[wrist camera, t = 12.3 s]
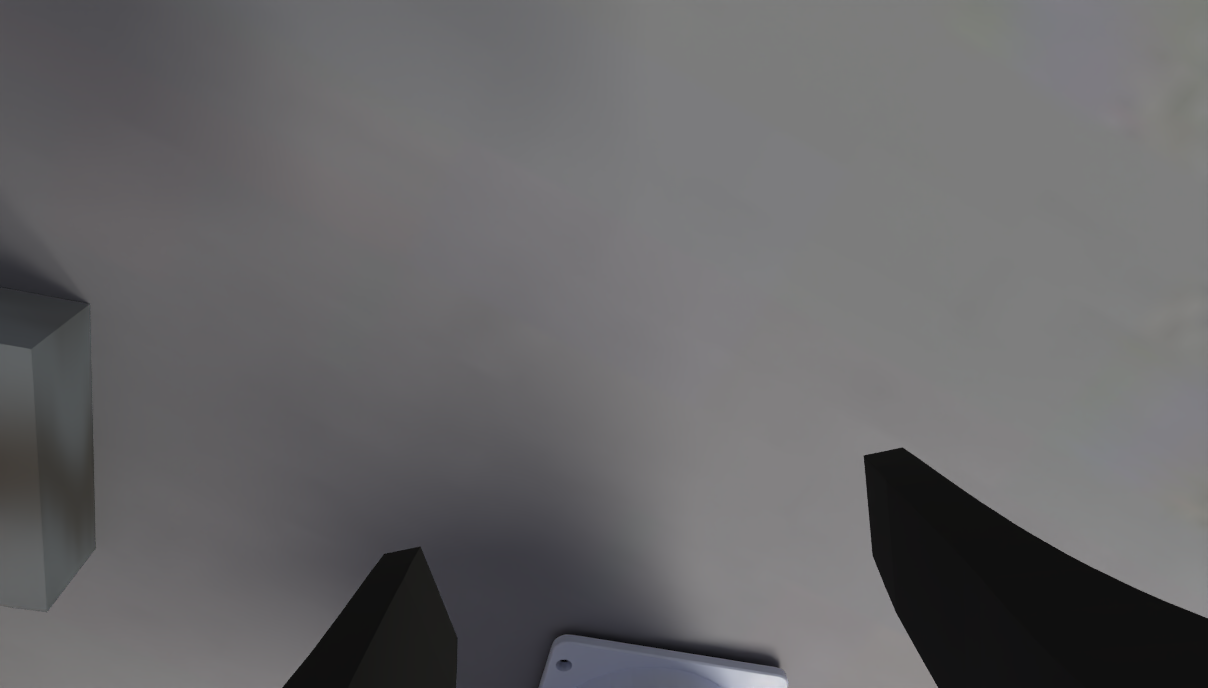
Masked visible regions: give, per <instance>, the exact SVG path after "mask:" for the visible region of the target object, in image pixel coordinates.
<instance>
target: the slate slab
mask: <svg viewBox="0 0 1208 688" xmlns="http://www.w3.org/2000/svg"><path fill="white" fill-rule="evenodd" d="M95 549H96V542H95V500H94V458H93V415H92V373H91V331H90V304H87V303H82V302H77V301H72V300H66V299H61V298H56V297H51V296H45V295H40V294H35V293H29V292H24V291H19V290H14V289H8V288H3V287H0V606H4V607H12V608H19V609H27V610H34V611H42V612H47V611H48V610H49V609H50V607H51V606H52V605H53V604H54V602H55V601H56V600H57V598H58V597H59V596H60V594H61V593H62V592H63V590H64V589H65V588H66V587H67V585H68V584H69V583H70V581H71V580H72V579H73V577H74V576H75V575H76V573H77V572H78V571H79V569H80V568H81V567H82V566H83V564H84V563H85V562H86V560H87V559H88V558H89V556H90V555H91V554H92V552H93V551H94V550H95Z"/></svg>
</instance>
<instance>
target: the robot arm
mask: <svg viewBox="0 0 1208 688" xmlns="http://www.w3.org/2000/svg"><path fill="white" fill-rule="evenodd" d="M864 463H865V475H866V486H867V497H868V508H869V519H870V530H871V542H872V553H873V557H874V560H875V562H876V565H877V567H878V570H879V572H880V575H881V577H882V580H883V582H884V585H885V587H886V590H887V592H888V594H889V597H890V599H891V601H892V604H893V606H894V608H895V611H896V613H897V615H898V617H899V619H900V620H901V622H902V624H903V626H904V628H905V629H906V631H907V633H908V635H909V637H910V638H911V640H912V642H913V644H914V646H915V647H916V649H917V651H918V653H919V654H920V656H921V658H922V660H923V662H924V663H925V665H926V667H927V669H928V670H929V672H930V674H931V676H932V677H933V679H934V681H935V683H936V684H937V686H938V688H1208V618H1205V617H1203V616H1200V615H1198V614H1195V613H1193V612H1190V611H1188V610H1185V609H1183V608H1180V607H1178V606H1175V605H1173V604H1170V603H1168V602H1165V601H1163V600H1161V599H1158V598H1156V597H1154V596H1152V595H1149V594H1147V593H1145V592H1142V591H1140V590H1138V589H1136V588H1134V587H1131V586H1129V585H1127V584H1125V583H1123V582H1121V581H1119V580H1117V579H1115V578H1113V577H1111V576H1109V575H1107V574H1105V573H1102V572H1100V571H1098V570H1096V569H1094V568H1092V567H1090V566H1088V565H1086V564H1084V563H1082V562H1080V561H1079V560H1077V559H1075V558H1073V557H1071V556H1069V555H1067V554H1065V553H1064V552H1062V551H1060V550H1058V549H1057V548H1055V547H1053V546H1051V545H1050V544H1048V543H1046V542H1044V541H1043V540H1041V539H1039V538H1037V537H1036V536H1034V535H1032V534H1030V533H1029V532H1027V531H1025V530H1024V529H1022V528H1020V527H1019V526H1017V525H1015V524H1014V523H1012V522H1011V521H1009V520H1008V519H1006V518H1005V517H1003V516H1002V515H1000V514H998V513H997V512H995V511H994V510H992V509H991V508H989V507H988V506H986V505H985V504H983V503H981V502H980V501H978V500H977V499H976V498H974V497H973V496H971V495H970V494H968V493H967V492H965V491H964V490H962V489H961V488H959V487H958V486H957V485H955V484H954V483H952V482H951V481H949V480H948V479H947V478H945V477H944V476H942V475H941V474H940V473H938V472H937V471H935V470H934V469H932V468H931V467H930V466H928V465H927V464H925V463H924V462H923V461H921V460H920V459H918V458H917V457H916V456H914V455H913V454H911V453H910V452H908V451H907V450H905V449H904V448H898V449H893V450H889V451H884V452H879V453H874V454H869V455H864ZM560 660H568V661H567V662H561V661H560ZM456 674H457V636H456V633H455V631H454V629H453V626H452V624H451V621H450V619H449V616H448V614H447V611H446V609H445V606H444V604H443V601H442V599H441V596H440V594H439V591H438V589H437V586H436V584H435V581H434V579H433V576H432V574H431V571H430V569H429V566H428V564H427V561H426V559H425V556H424V554H423V552H422V549H421V547H416V548H411V549H407V550H402V551H397V552H392V553H387V554H384V555H383V556H382V558H381V559H380V560H379V562H378V563H377V564H376V566H375V567H374V568H373V570H372V571H371V572H370V574H369V575H368V576H367V578H366V579H365V581H364V582H363V583H362V585H361V586H360V587H359V589H358V590H357V592H356V593H355V594H354V596H353V597H352V598H351V600H350V601H349V603H348V604H347V605H346V607H345V608H344V609H343V611H342V612H341V614H340V615H339V616H338V618H337V619H336V620H335V622H334V623H333V624H332V626H331V627H330V628H329V630H328V631H327V632H326V634H325V635H324V636H323V638H322V639H321V640H320V642H319V643H318V644H317V646H316V647H315V648H314V650H313V651H312V652H311V653H310V655H309V656H308V657H307V658H306V660H305V661H304V662H303V663H302V664H301V666H300V667H299V668H298V669H297V671H296V672H295V673H294V674H293V675H292V677H291V678H290V679H289V680H288V681H287V683H286V684H285V685H284V686H283V688H456ZM539 688H788V680H787V677H786V674H785V672H784V671H783V670H782V669H780V668H777V667H772V666H765V665H759V664H753V663H747V662H740V661H734V660H728V659H721V658H715V657H709V656H703V655H696V654H690V653H684V652H678V651H671V650H665V649H659V648H653V647H646V646H640V645H634V644H628V643H621V642H615V641H609V640H602V639H596V638H590V637H584V636H577V635H571V634H565V635H562V636H559V637H558V638H556V639H555V640H554V642H553V643H552V646H551V650H550V653H549V656H548V659H547V662H546V665H545V669H544V672H543V675H542V678H541V681H540V684H539Z"/></svg>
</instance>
